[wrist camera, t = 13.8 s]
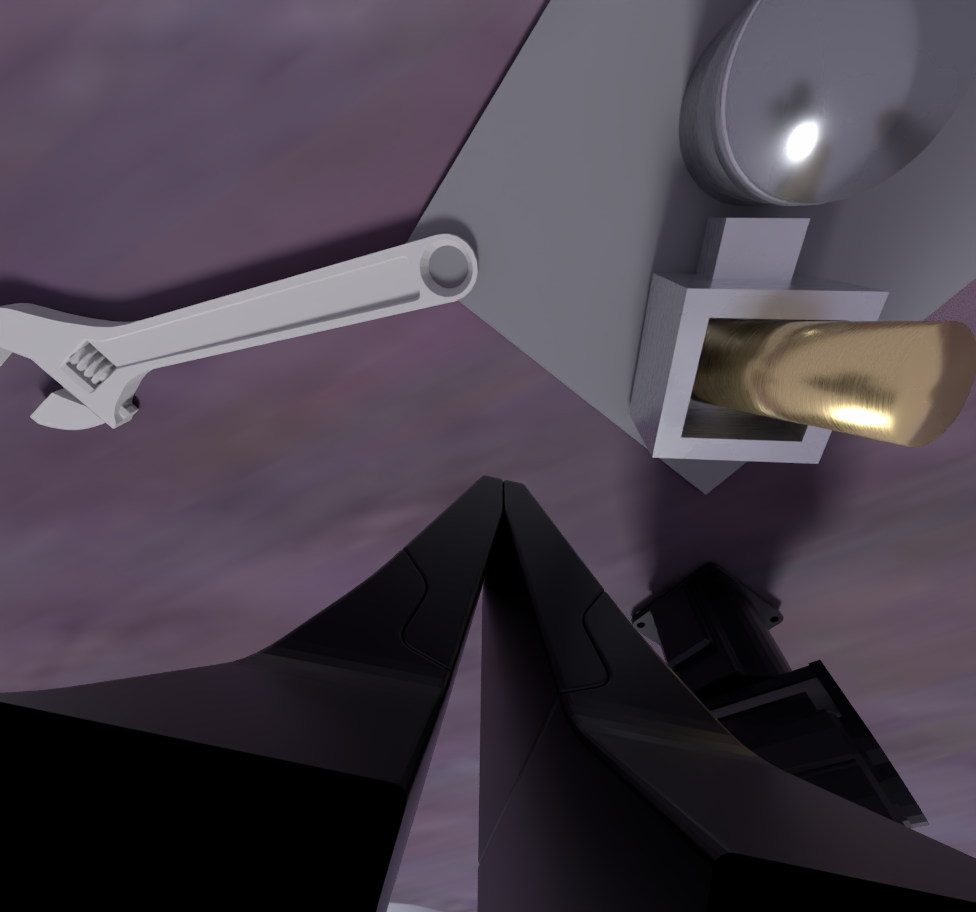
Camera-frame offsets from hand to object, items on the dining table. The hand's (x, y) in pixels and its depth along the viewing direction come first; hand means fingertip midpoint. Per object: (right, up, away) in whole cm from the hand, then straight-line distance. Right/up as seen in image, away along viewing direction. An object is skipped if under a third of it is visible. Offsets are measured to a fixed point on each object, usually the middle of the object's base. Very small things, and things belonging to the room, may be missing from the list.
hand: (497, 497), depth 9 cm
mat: (+9, +10, +9) cm, 16 cm away
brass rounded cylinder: (+9, +5, +9) cm, 13 cm away
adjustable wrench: (-13, +7, +13) cm, 19 cm away
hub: (+10, +13, +7) cm, 18 cm away
